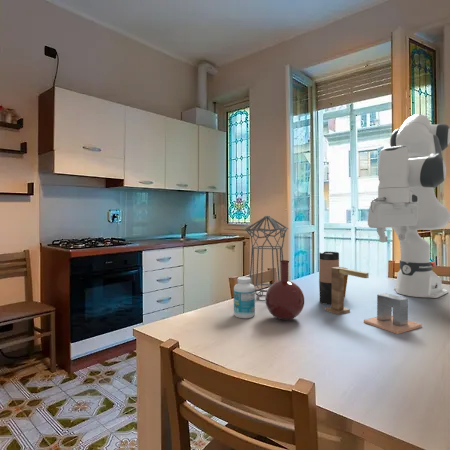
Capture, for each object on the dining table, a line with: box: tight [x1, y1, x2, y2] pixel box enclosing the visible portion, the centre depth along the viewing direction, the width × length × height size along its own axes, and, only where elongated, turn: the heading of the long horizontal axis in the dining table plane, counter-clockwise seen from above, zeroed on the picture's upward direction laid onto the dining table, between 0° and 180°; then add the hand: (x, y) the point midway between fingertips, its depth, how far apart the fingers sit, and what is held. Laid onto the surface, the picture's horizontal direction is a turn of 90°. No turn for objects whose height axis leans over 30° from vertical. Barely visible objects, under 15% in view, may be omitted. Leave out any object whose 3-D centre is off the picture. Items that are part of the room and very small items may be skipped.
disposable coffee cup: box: [340, 266, 349, 298], centre depth 143 cm, size 10×10×12 cm
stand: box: [325, 266, 369, 315], centre depth 118 cm, size 6×16×16 cm, turn 29°
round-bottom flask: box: [264, 259, 305, 321], centre depth 114 cm, size 13×13×20 cm
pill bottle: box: [233, 276, 256, 319], centre depth 118 cm, size 8×7×14 cm
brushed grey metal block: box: [376, 292, 409, 327], centre depth 108 cm, size 8×4×8 cm, turn 29°
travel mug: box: [318, 251, 340, 306], centre depth 134 cm, size 8×8×20 cm
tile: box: [363, 315, 423, 335], centre depth 108 cm, size 12×12×1 cm
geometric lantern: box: [244, 215, 289, 302], centre depth 141 cm, size 16×16×35 cm
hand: (393, 241), depth 107 cm, fingers open, 8 cm apart
